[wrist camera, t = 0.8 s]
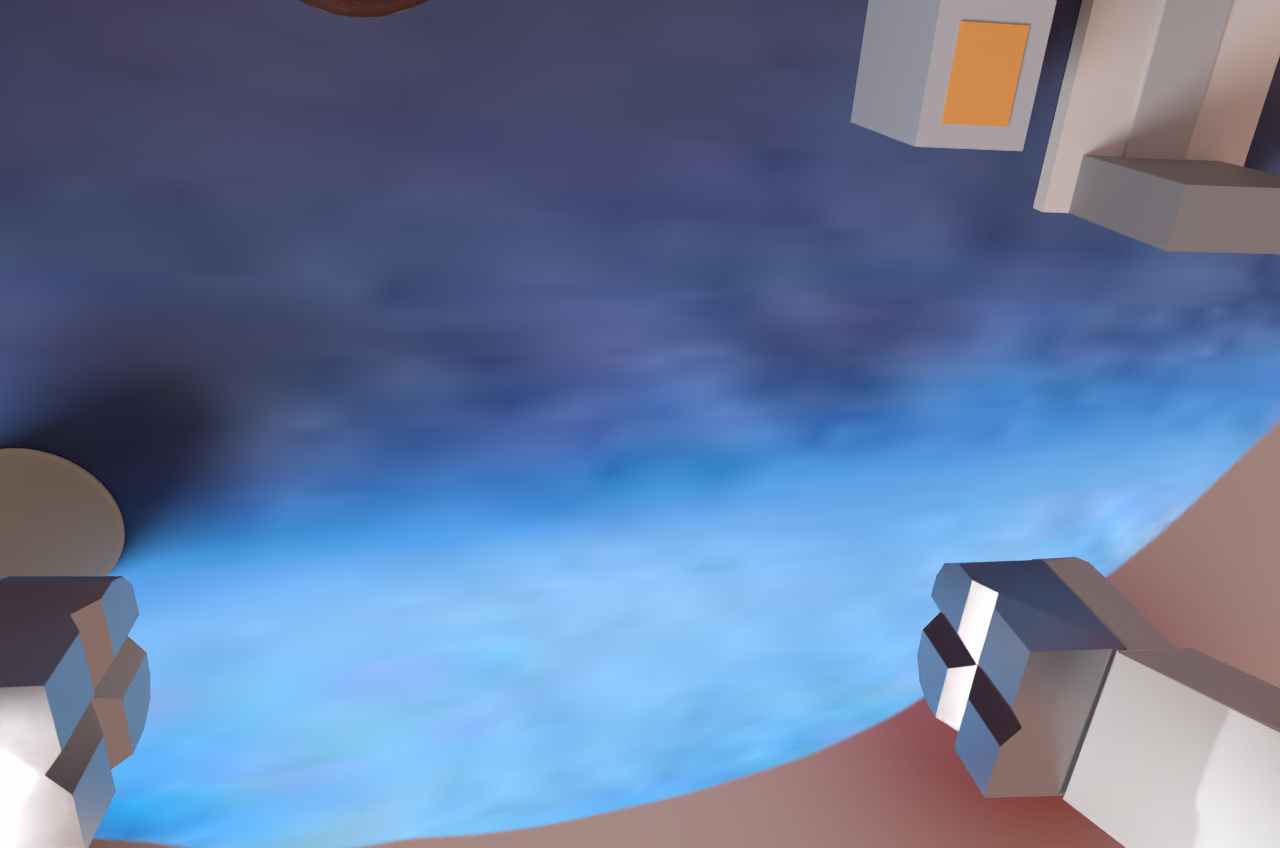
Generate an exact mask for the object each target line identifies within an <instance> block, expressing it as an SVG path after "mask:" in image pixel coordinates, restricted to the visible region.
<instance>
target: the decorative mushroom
mask: <svg viewBox="0 0 1280 848" xmlns="http://www.w3.org/2000/svg"><path fill="white" fill-rule="evenodd" d="M299 1H301V2H303V3H305V4H308V5H310V6H312V7H315V8H318V9H320V10H323V11H326V12H330V13H334V14H337V15H344V16H351V17H381V16H387V15H391V14H395V13H398V12H402V11H404V10H407V9H410V8H413V7H415V6H418V5H420V4H422V3H425V2H426V1H428V0H299Z"/></svg>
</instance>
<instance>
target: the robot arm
mask: <svg viewBox="0 0 1280 848" xmlns="http://www.w3.org/2000/svg"><path fill="white" fill-rule="evenodd" d="M931 596H932V598H933V600H934V602H935V603H936V605H937V607H938V609H939V611H940V613H939V614H938V615H937V616H936V617H935V618H934V619H933V620H932V621H931V622H930V623H929V624H928V625H927V626H926V627H925V628H924V629H923V631H922V636H921V641H920V646H919V650H918V668H919V681H920V684H921V687H922V690H923V693H924V696H925V699H926V701H927V703H928V704H929V706H930V708H931V710H932V711H933V713H934V715H935V716H936V717H937V718H938V719H940V720H942V721H943V722H945V723H946V724H948V725H949V726H951V727H952V728H954V729H956V730H957V731H959V733H958V737H957V740H956V744H955V749H956V751H957V753H958V755H959V756H960V758H961V759H962V761H963V763H964V765H965V766H966V768H967V769H968V771H969V773H970V774H971V776H972V778H973V779H974V781H975V783H976V784H977V786H978V787H979V789H980V791H981V792H982V794H983V796H984V797H985V798H992V797H1025V796H1056V795H1064V798H1063V799H1064V800H1065V801H1066V802H1068V803H1069V804H1070V805H1071V806H1073V807H1074V808H1075V809H1077V810H1078V811H1079V812H1081V813H1082V814H1083V815H1085V816H1086V817H1087V818H1088V819H1090V820H1091V821H1092V822H1093V823H1095V824H1096V825H1097V826H1099V827H1100V828H1101V829H1102V830H1104V831H1105V832H1106V833H1108V834H1109V835H1110V836H1112V837H1113V838H1114V839H1115V840H1117V841H1118V842H1119V843H1121V844H1122V845H1123V846H1125V847H1126V848H1280V688H1278V687H1276V686H1274V685H1271V684H1269V683H1267V682H1265V681H1263V680H1261V679H1258V678H1256V677H1254V676H1252V675H1250V674H1248V673H1245V672H1243V671H1241V670H1239V669H1237V668H1234V667H1232V666H1230V665H1228V664H1226V663H1223V662H1221V661H1219V660H1217V659H1215V658H1213V657H1210V656H1208V655H1206V654H1204V653H1202V652H1199V651H1197V650H1195V649H1193V648H1177V647H1176V646H1175V645H1174V644H1173V643H1172V642H1171V641H1170V640H1169V639H1168V638H1167V637H1166V636H1165V635H1164V634H1163V633H1162V632H1161V631H1160V630H1159V629H1158V628H1156V627H1155V626H1154V625H1153V624H1152V623H1151V622H1150V621H1149V620H1148V619H1147V618H1146V617H1145V616H1144V615H1143V614H1142V613H1141V612H1140V611H1139V610H1138V609H1137V608H1136V607H1135V606H1134V605H1133V604H1132V603H1131V602H1130V601H1128V600H1127V599H1126V598H1125V597H1124V596H1123V595H1122V594H1121V593H1120V592H1119V591H1118V590H1117V589H1116V588H1115V587H1114V586H1113V585H1112V584H1111V583H1110V582H1109V581H1108V580H1107V579H1106V578H1105V577H1104V576H1103V575H1102V574H1100V573H1099V572H1098V571H1097V570H1096V569H1095V568H1094V567H1093V566H1092V565H1091V564H1090V563H1089V562H1087V561H1084V560H1081V559H1079V558H1076V557H1068V558H1050V559H1032V560H1025V561H997V562H970V563H945V564H944V565H943V567H942V568H941V570H940V571H939V573H938V574H937V576H936V580H935V583H934V587H933V591H932V595H931ZM138 616H139V611H138V607H137V603H136V598H135V594H134V590H133V585H132V584H131V583H130V582H128V581H127V580H126V579H125V578H124V577H123V576H9V577H7V578H6V577H2V576H0V848H88V847H89V846H90V843H91V841H92V839H93V837H94V835H95V833H96V831H97V829H98V827H99V825H100V823H101V820H102V818H103V816H104V814H105V812H106V810H107V808H108V806H109V804H110V802H111V800H112V797H113V795H114V793H115V787H114V782H113V777H112V773H111V769H112V768H114V767H115V766H116V765H118V764H119V763H121V762H122V761H123V760H125V759H126V758H128V757H129V756H130V755H132V754H133V753H134V751H135V748H136V746H137V744H138V742H139V739H140V737H141V735H142V733H143V730H144V727H145V722H146V717H147V712H148V707H149V702H150V671H149V665H148V659H147V653H146V652H145V651H144V650H143V649H142V648H140V647H139V646H138V645H137V644H136V643H135V642H134V641H133V640H131V639H130V638H129V637H128V634H129V632H130V630H131V628H132V626H133V625H134V623H135V621H136V619H137V617H138Z"/></svg>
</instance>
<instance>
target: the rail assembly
mask: <svg viewBox="0 0 1280 848" xmlns="http://www.w3.org/2000/svg"><path fill="white" fill-rule="evenodd" d="M1279 56H1280V0H1082V3H1081V7H1080V12H1079V16H1078V20H1077V24H1076V29H1075V33H1074V37H1073V41H1072V45H1071V50H1070V54H1069V58H1068V62H1067V66H1066V71H1065V75H1064V79H1063V83H1062V87H1061V92H1060V96H1059V100H1058V104H1057V109H1056V113H1055V117H1054V121H1053V125H1052V130H1051V134H1050V138H1049V142H1048V146H1047V151H1046V155H1045V159H1044V163H1043V168H1042V172H1041V176H1040V180H1039V184H1038V189H1037V193H1036V197H1035V201H1034V205H1033V208H1034V209H1037V210H1039V211H1041V212H1057V213H1070V214H1073V215H1075V216H1078V217H1080V218H1083V219H1085V220H1088V221H1090V222H1093V223H1095V224H1098V225H1101V226H1103V227H1106V228H1108V229H1111V230H1113V231H1116V232H1118V233H1121V234H1123V235H1126V236H1128V237H1131V238H1134V239H1136V240H1139V241H1141V242H1144V243H1146V244H1149V245H1151V246H1154V247H1156V248H1159V249H1161V250H1164V251H1176V252H1216V253H1256V254H1280V175H1276V174H1272V173H1268V172H1264V171H1259V170H1255V169H1251V168H1247V167H1243V166H1244V163H1245V160H1246V157H1247V154H1248V151H1249V148H1250V145H1251V142H1252V139H1253V136H1254V133H1255V130H1256V127H1257V123H1258V120H1259V117H1260V114H1261V111H1262V108H1263V105H1264V102H1265V99H1266V96H1267V93H1268V90H1269V87H1270V84H1271V81H1272V78H1273V74H1274V71H1275V68H1276V65H1277V62H1278V59H1279Z"/></svg>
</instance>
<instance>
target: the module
mask: <svg viewBox="0 0 1280 848" xmlns="http://www.w3.org/2000/svg"><path fill="white" fill-rule="evenodd" d="M1056 2H1057V0H869V2H868V9H867V16H866V23H865V29H864V36H863V43H862V49H861V56H860V63H859V70H858V76H857V83H856V90H855V96H854V103H853V110H852V117H851V122H852V123H855V124H857V125H860V126H862V127H865V128H868V129H870V130H873V131H875V132H878V133H881V134H883V135H886V136H888V137H891V138H894V139H896V140H899V141H902V142H904V143H907V144H909V145H912V146H915V147H937V148H961V149H984V150H1008V151H1023V147H1024V143H1025V138H1026V134H1027V130H1028V125H1029V121H1030V116H1031V112H1032V108H1033V103H1034V99H1035V94H1036V90H1037V85H1038V81H1039V77H1040V72H1041V68H1042V63H1043V59H1044V55H1045V50H1046V46H1047V41H1048V37H1049V33H1050V28H1051V24H1052V19H1053V15H1054V11H1055V6H1056Z"/></svg>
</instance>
